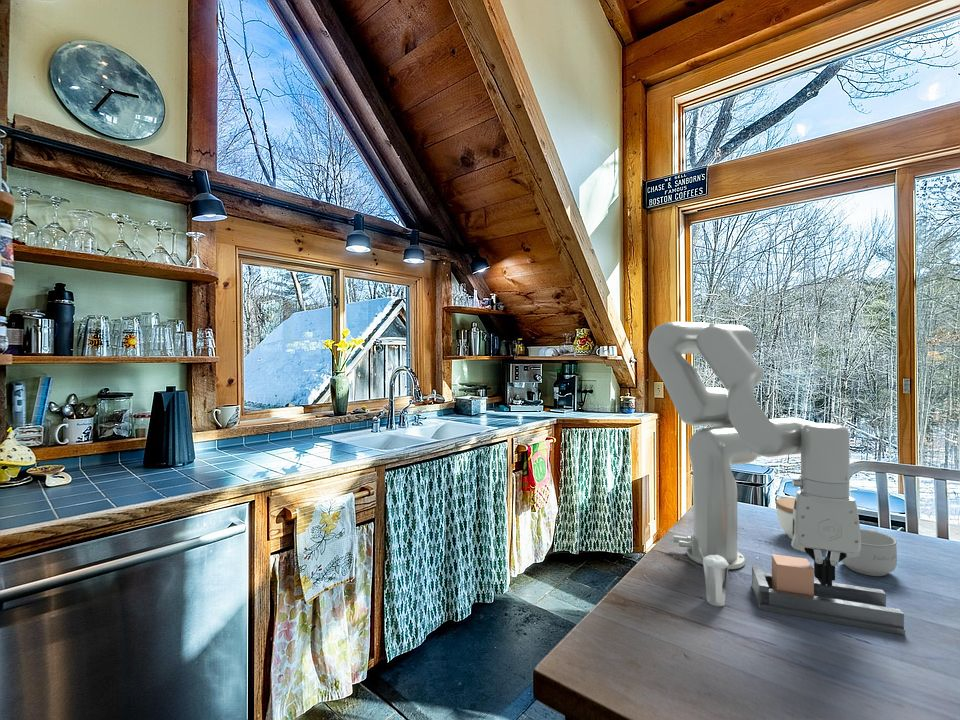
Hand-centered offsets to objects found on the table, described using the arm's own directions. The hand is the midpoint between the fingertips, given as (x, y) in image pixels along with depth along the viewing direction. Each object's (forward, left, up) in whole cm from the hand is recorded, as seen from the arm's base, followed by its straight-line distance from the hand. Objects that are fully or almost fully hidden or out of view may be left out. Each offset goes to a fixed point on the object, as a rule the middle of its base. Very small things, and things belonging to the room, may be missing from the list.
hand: (824, 582), depth 89 cm
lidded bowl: (+5, +39, -5) cm, 40 cm away
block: (-5, 0, -4) cm, 7 cm away
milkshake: (-20, -5, -5) cm, 21 cm away
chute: (-1, 0, -5) cm, 5 cm away
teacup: (+14, +24, -5) cm, 29 cm away
